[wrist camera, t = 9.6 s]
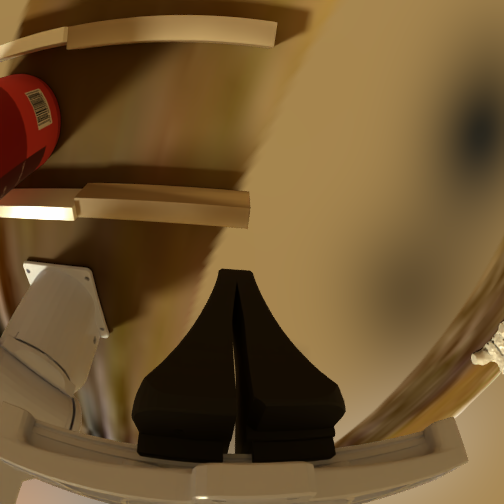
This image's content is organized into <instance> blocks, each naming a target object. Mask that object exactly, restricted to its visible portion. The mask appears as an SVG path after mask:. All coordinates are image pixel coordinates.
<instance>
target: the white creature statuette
mask: <svg viewBox="0 0 504 504" xmlns="http://www.w3.org/2000/svg"><path fill="white" fill-rule="evenodd" d="M498 329H499V330H498V331H497V333H496V334H495V335H494V337H492V340H491V341H489V342H488V343H489V344H486V345H485V346H484V347H483V348H482V350H480V351H478V352H475V353H473V354H472V355H471V359H472V362H473V364H480V365H484V364H487V363H488V362H490V361H492V362H496V363H497V364H498V367H500V371H502V373H503V374H504V321H503V322H502V323H500V325H499V328H498ZM492 341H494V342H492Z"/></svg>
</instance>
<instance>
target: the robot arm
mask: <svg viewBox="0 0 504 504" xmlns="http://www.w3.org/2000/svg"><path fill="white" fill-rule="evenodd" d="M23 267H24V269H25V272H26V275H27V277H28V280H29V283H30V285H31V286H30V287H29V289H28V290H27V292H26V294H25V295H24V297H23V299H22V300H21V302H20V304H19V305H18V307H17V309H16V311H15V312H14V314H13V316H12V318H11V320H10V321H9V323H8V325H7V327H6V329H5V331H4V333H3V334H2V336H1V338H0V504H15V503H16V500H17V497H18V493H19V490H20V488H21V485H22V482H23V481H26V480H30V479H38V480H41V481H43V482H46V483H48V484H51V485H53V486H56V487H59V488H61V489H64V490H67V491H70V492H73V493H76V494H79V495H82V496H85V497H88V498H91V499H95V500H98V501H102V502H106V503H109V504H362V503H366V502H370V501H374V500H377V499H381V498H384V497H387V496H390V495H393V494H397V493H400V492H403V491H406V490H408V489H411V488H414V487H417V486H420V485H423V484H425V483H428V482H431V481H433V480H435V479H438V478H440V477H442V476H444V475H446V474H447V473H449V472H451V471H453V470H455V469H457V468H458V467H460V466H462V465H464V464H465V463H467V462H468V457H467V455H466V451H465V448H464V445H463V442H462V439H461V436H460V433H459V430H458V427H457V425H456V422H455V419H454V417H450V418H447V419H444V420H440V421H437V422H434V423H432V424H431V425H429V426H428V427H426V428H425V429H424V431H421V432H417V433H413V434H409V435H405V436H401V437H397V438H392V439H388V440H383V441H378V442H373V443H367V444H362V445H356V446H349V447H342V448H335V446H334V441H333V437H334V436H335V429H334V426H335V424H336V423H337V422H338V421H339V420H340V419H341V418H342V417H343V415H344V413H345V412H346V411H345V404H344V400H343V397H342V395H341V392H340V389H339V387H338V385H337V384H336V383H335V382H333V381H332V380H330V379H329V378H328V377H327V376H326V375H324V374H323V373H321V372H320V371H319V370H318V369H317V368H316V367H315V366H314V365H313V364H312V363H311V362H309V360H308V359H307V358H306V357H305V356H304V355H303V354H302V353H301V352H300V351H299V350H298V349H297V348H296V347H295V346H294V344H293V343H292V342H291V341H290V339H289V338H288V337H287V336H286V334H285V333H284V332H283V330H282V329H281V327H280V326H279V325H278V323H277V321H276V320H275V318H274V317H273V315H272V313H271V312H270V310H269V308H268V306H267V305H266V303H265V301H264V299H263V297H262V295H261V293H260V291H259V289H258V286H257V284H256V282H255V279H254V276H253V273H252V272H251V271H246V270H232V269H221V270H219V273H218V278H217V281H216V284H215V286H214V289H213V291H212V293H211V295H210V297H209V299H208V301H207V303H206V305H205V307H204V309H203V310H202V312H201V314H200V316H199V317H198V319H197V320H196V322H195V324H194V325H193V326H192V328H191V329H190V331H189V332H188V333H187V335H186V336H185V337H184V338H183V340H182V341H181V342H180V343H179V345H178V346H177V347H176V348H175V349H174V350H173V351H172V352H171V353H170V354H169V355H168V356H167V358H166V359H165V360H164V361H163V362H162V363H161V364H160V365H158V366H157V367H156V368H155V369H154V370H153V371H152V372H150V373H149V374H148V375H147V376H146V377H145V378H144V379H143V381H142V383H141V385H140V387H139V389H138V392H137V394H136V397H135V400H134V404H133V410H132V419H133V421H134V423H135V425H136V427H137V429H138V431H139V437H138V445H135V444H129V443H124V442H118V441H113V440H109V439H104V438H100V437H95V436H91V435H87V434H83V433H79V432H80V429H81V423H82V414H81V407H80V403H79V401H78V400H77V399H76V398H75V397H74V393H75V392H76V391H78V390H79V389H80V388H81V387H82V386H83V385H84V383H85V382H86V380H87V377H88V374H89V371H90V367H91V364H92V361H93V358H94V355H95V352H96V349H97V346H98V343H99V340H100V337H102V338H108V337H109V331H108V328H107V325H106V322H105V318H104V315H103V312H102V308H101V305H100V301H99V298H98V294H97V290H96V287H95V283H94V279H93V275H92V271H91V270H90V269H89V268H85V267H75V266H66V265H58V264H49V263H41V262H32V261H25V262H24V264H23ZM87 277H88V278H87ZM233 348H234V359H235V371H236V386H235V374H234V359H233ZM234 426H235V428H236V429H235V454H227V453H228V449H229V444H230V441H231V439H232V435H233V430H234Z"/></svg>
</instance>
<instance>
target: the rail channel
mask: <svg viewBox="0 0 504 504" xmlns="http://www.w3.org/2000/svg"><path fill="white" fill-rule="evenodd" d="M277 23H278V22H272V21H265V20H257V19H248V18H238V17H225V16H206V15H163V16H144V17H131V18H122V19H113V20H105V21H98V22H92V23H86V24H81V25H75V26H70V27H68V36H67V50H69V49H86V48H93V47H101V46H110V45H120V44H133V43H152V42H201V43H220V44H233V45H244V46H253V47H261V48H269V49H270V48H272V47H274V42H275V36H276V29H277ZM74 201H75V208H76V214H77V217H87V218H105V219H122V220H138V221H153V222H168V223H182V224H196V225H209V226H222V227H235V228H248V222H249V214H250V198H249V192H247V191H236V190H224V189H211V188H198V187H183V186H165V185H145V184H119V183H87V184H86V186H85V187H84V188H83V189H82V190H81V191H80V192H79V193H78V194H77V195H76V196H75V197H74Z"/></svg>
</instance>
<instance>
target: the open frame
mask: <svg viewBox="0 0 504 504" xmlns="http://www.w3.org/2000/svg"><path fill="white" fill-rule="evenodd" d="M67 36H68V27H61V28H56V29H52V30H48V31H44V32H41V33H37V34H33V35H30V36H27V37H23V38H20V39H17V40H14V41H11V42H8V43H5V44H3V45H0V62H2V61H5V60H8V59H12V58H15V57H18V56H22V55H26V54H29V53H33V52H37V51H41V50H46V49H50V48H55V47H59V46H64V45H67ZM81 190H82V189H68V188H27V189H12V190H11V191H9V192H8V193H7V194H6V195H5V196H4V197H3V198H2V199H0V217H10V218H32V219H53V220H72V221H74V220H75V219H76V218H77V214H76V208H75V201H74V197H75V196H76V195H77V194H78V193H79V192H80V191H81Z"/></svg>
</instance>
